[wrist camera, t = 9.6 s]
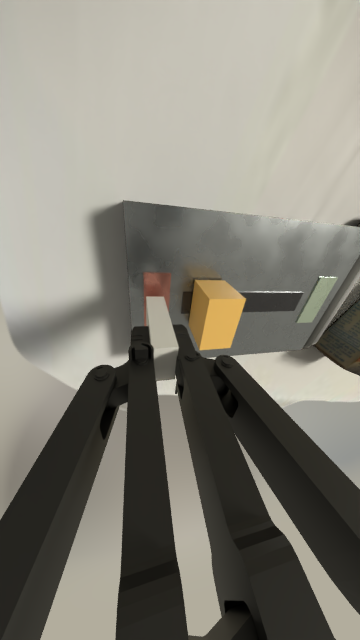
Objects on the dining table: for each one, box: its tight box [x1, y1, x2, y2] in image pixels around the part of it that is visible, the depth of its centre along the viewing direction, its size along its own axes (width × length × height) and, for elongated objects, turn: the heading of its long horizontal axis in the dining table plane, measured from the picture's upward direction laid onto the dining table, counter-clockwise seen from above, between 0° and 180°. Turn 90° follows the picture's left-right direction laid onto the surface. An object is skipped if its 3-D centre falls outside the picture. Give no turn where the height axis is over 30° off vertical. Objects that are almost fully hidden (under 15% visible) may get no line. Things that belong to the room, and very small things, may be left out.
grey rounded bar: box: [302, 224, 360, 349], centre depth 24 cm, size 18×4×2 cm, turn 175°
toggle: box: [188, 280, 246, 350], centre depth 16 cm, size 5×3×4 cm, turn 175°
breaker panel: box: [123, 200, 360, 358], centre depth 20 cm, size 16×24×3 cm, turn 85°
